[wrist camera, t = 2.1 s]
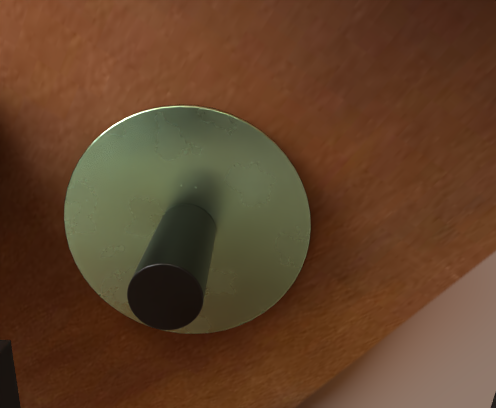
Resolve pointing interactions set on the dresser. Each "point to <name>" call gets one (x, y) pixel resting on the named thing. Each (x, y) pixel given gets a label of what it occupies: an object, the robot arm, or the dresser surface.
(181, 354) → the dresser surface
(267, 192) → the lid
